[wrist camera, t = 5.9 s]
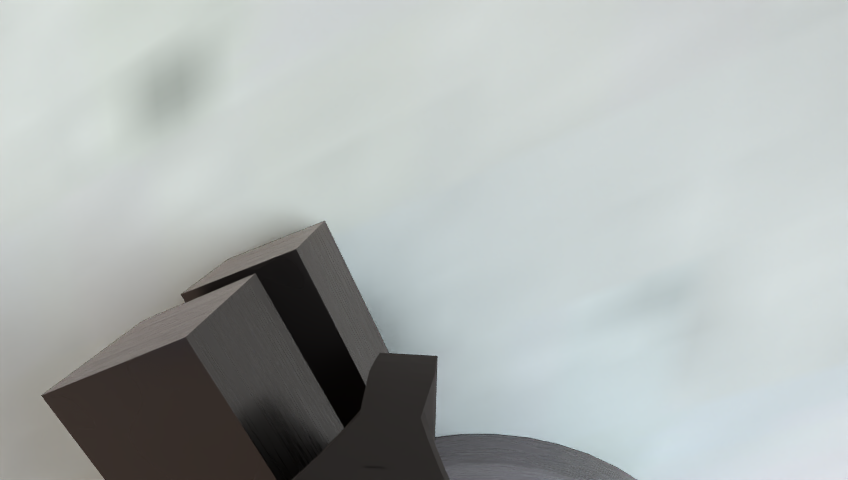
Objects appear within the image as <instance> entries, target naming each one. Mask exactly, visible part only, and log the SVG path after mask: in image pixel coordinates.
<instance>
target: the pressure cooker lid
mask: <svg viewBox="0 0 848 480" xmlns="http://www.w3.org/2000/svg"><path fill="white" fill-rule="evenodd" d="M41 396H42V397H43V398H44V400H45V401H46V402H47V404H48V405H49V406H50V408H51V409H52V410H53V412H54V413H55V414H56V416H57V417H58V418H59V420H60V421H61V422H62V423H63V425H64V426H65V427H66V429H67V430H68V431H69V433H70V434H71V435H72V437H73V438H74V439H75V441H76V442H77V443H78V445H79V446H80V447H81V449H82V450H83V451H84V453H85V454H86V455H87V456H88V458H89V459H90V460H91V462H92V463H93V464H94V466H95V467H96V468H97V470H98V471H99V472H100V474H101V475H102V476H103V478H104V479H105V480H292V479H293V478H294V477H295V476H296V475H297V474H298V473H300V472H301V471H302V470H303V469H304V468H305V467H306V466H307V465H308V464H309V463H310V462H311V461H312V460H313V459H314V458H315V457H317V456H318V455H319V454H320V453H321V452H322V450H323V449H324V448H325V447H326V446H327V445H328V444H329V443H330V442H331V441H332V440H333V439H334V438H335V437H336V436H337V435H338V434H339V433H340V432H341V431H342V430H343V429H344V427H343V425H342V423H341V422H340V420H339V418H338V416H337V415H336V413H335V411H334V409H333V408H332V406H331V404H330V402H329V401H328V399H327V397H326V395H325V394H324V392H323V390H322V388H321V387H320V385H319V383H318V382H317V380H316V378H315V376H314V375H313V373H312V371H311V369H310V368H309V366H308V364H307V362H306V361H305V359H304V357H303V355H302V354H301V352H300V350H299V348H298V347H297V345H296V343H295V341H294V340H293V338H292V336H291V334H290V333H289V331H288V329H287V327H286V326H285V324H284V322H283V320H282V319H281V317H280V315H279V313H278V312H277V310H276V308H275V306H274V305H273V303H272V301H271V299H270V298H269V296H268V294H267V292H266V291H265V289H264V287H263V286H262V284H261V282H260V280H259V279H258V277H257V275H256V273H255V274H253V275H251V276H248V277H246V278H243V279H241V280H239V281H236V282H234V283H232V284H229V285H227V286H224V287H222V288H220V289H217V290H215V291H213V292H210V293H208V294H205V295H203V296H201V297H198V298H196V299H193V300H191V301H189V302H186V303H184V304H182V305H179V306H177V307H174V308H172V309H170V310H167V311H165V312H163V313H160V314H158V315H155V316H153V317H151V318H148V319H146V320H144V321H142V322H140V323H139V324H138V325H136V326H135V327H134V328H132V329H131V330H130V331H128V332H127V333H126V334H124V335H123V336H121V337H120V338H119V339H117V340H116V341H115V342H113V343H112V344H111V345H109V346H108V347H106V348H105V349H104V350H102V351H101V352H100V353H98V354H97V355H96V356H94V357H93V358H91V359H90V360H89V361H87V362H86V363H85V364H83V365H82V366H81V367H79V368H78V369H77V370H75V371H74V372H72V373H71V374H70V375H68V376H67V377H66V378H64V379H63V380H62V381H60V382H59V383H57V384H56V385H55V386H53V387H52V388H51V389H49V390H48V391H47V392H45V393H44V394H42V395H41Z"/></svg>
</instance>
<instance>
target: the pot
mask: <svg viewBox="0 0 848 480" xmlns="http://www.w3.org/2000/svg"><path fill="white" fill-rule="evenodd" d="M255 273H256V275H257V277H258V279H259V280H260V282H261V284H262V286H263V287H264V289H265V291H266V292H267V294H268V296H269V298H270V299H271V301H272V303H273V305H274V306H275V308H276V310H277V312H278V313H279V315H280V317H281V319H282V320H283V322H284V324H285V326H286V327H287V329H288V331H289V333H290V334H291V336H292V338H293V340H294V341H295V343H296V345H297V347H298V348H299V350H300V352H301V354H302V355H303V357H304V359H305V361H306V362H307V364H308V366H309V368H310V369H311V371H312V373H313V375H314V376H315V378H316V380H317V382H318V383H319V385H320V387H321V388H322V390H323V392H324V394H325V395H326V397H327V399H328V401H329V402H330V404H331V406H332V408H333V409H334V411H335V413H336V415H337V416H338V418H339V420H340V422H341V423H342V425H343V427H344V428H345V427H346V426H347V425H348V423H349V422H350V421H351V420H352V419H353V418H354V417H355V416H356V414H357V413H358V412H359V411H360V410H361V405H362V401H363V396H364V392H365V387H366V383H367V379H368V375H369V371H370V369H371V367H372V365H373V363H374V361H375V359H376V358H377V356H378V355H379V353H389V352H388V350H387V348H386V346H385V344H384V342H383V339H382V337H381V335H380V333H379V331H378V329H377V327H376V325H375V323H374V321H373V319H372V317H371V315H370V313H369V311H368V309H367V307H366V304H365V302H364V300H363V298H362V296H361V294H360V292H359V290H358V288H357V286H356V284H355V282H354V280H353V278H352V276H351V274H350V272H349V269H348V267H347V265H346V263H345V261H344V259H343V257H342V255H341V253H340V251H339V249H338V247H337V245H336V243H335V241H334V239H333V237H332V234H331V232H330V230H329V228H328V226H327V224H326V222H325V221H323V222H320V223H318V224H315V225H313V226H310V227H308V228H305V229H303V230H300V231H298V232H295V233H293V234H290V235H288V236H285V237H283V238H280V239H278V240H275V241H273V242H270V243H268V244H265V245H263V246H260V247H258V248H255V249H253V250H250V251H248V252H245V253H243V254H240V255H238V256H235V257H233V258H230V259H228V260H226V261H225V262H224V263H222V264H221V265H220V266H218V267H217V268H216V269H214V270H213V271H212V272H210V273H209V274H208V275H206V276H205V277H203V278H202V279H201V280H199V281H198V282H197V283H195V284H194V285H193V286H191V287H190V288H189V289H187V290H186V291H185V292H183V293H182V294H181V296H182V297H183V299H184V301H185V302H189V301H191V300H193V299H196V298H198V297H201V296H203V295H205V294H208V293H210V292H213V291H215V290H217V289H220V288H222V287H224V286H227V285H229V284H232V283H234V282H236V281H239V280H241V279H243V278H246V277H248V276H251V275H253V274H255ZM435 445H436V448H437V450H438V452H439V455H440V457H441V460H442V462H443V465H444V467H445V470H446V472H447V474H448V476H449V479H450V480H636V479H635V478H633V477H632V476H630V475H628V474H627V473H625V472H624V471H622V470H620V469H619V468H617V467H615V466H613V465H611V464H608V463H606V462H604V461H602V460H600V459H598V458H596V457H593V456H591V455H589V454H586V453H583V452H580V451H577V450H574V449H571V448H568V447H565V446H562V445H558V444H554V443H549V442H544V441H540V440H535V439H530V438H523V437H514V436H504V435H456V436H447V437H439V438H435Z"/></svg>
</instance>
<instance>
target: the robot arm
mask: <svg viewBox="0 0 848 480" xmlns="http://www.w3.org/2000/svg"><path fill="white" fill-rule="evenodd" d="M436 386H437V356H427V355H410V354H392V353H379V355H378V356H377V358H376V359H375V361H374V363H373V365H372V367H371V369H370V371H369V375H368V379H367V383H366V387H365V392H364V396H363V401H362V405H361V410H360V411H359V412H358V413H357V414H356V416H355V417H354V418H353V419H352V420H351V421H350V422H349V423H348V425H347V426H346V427H345V428H344V429H343V430H342V431H341V432H340V433H339V434H338V435H337V436H336V437H335V438H334V439H333V440H332V441H331V442H330V443H329V444H328V445H327V446H326V447H325V448H324V449H323V450H322V452H321V453H320V454H319V455H318V456H317V457H315V458H314V459H313V460H312V461H311V462H310V463H309V464H308V465H307V466H306V467H305V468H304V469H303V470H302V471H301V472H300V473H298V474H297V475H296V476H295V477H294V478H293V479H292V480H450V479H449V476H448V474H447V472H446V470H445V467H444V465H443V462H442V460H441V457H440V455H439V452H438V450H437V448H436V445H435V418H436Z"/></svg>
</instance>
